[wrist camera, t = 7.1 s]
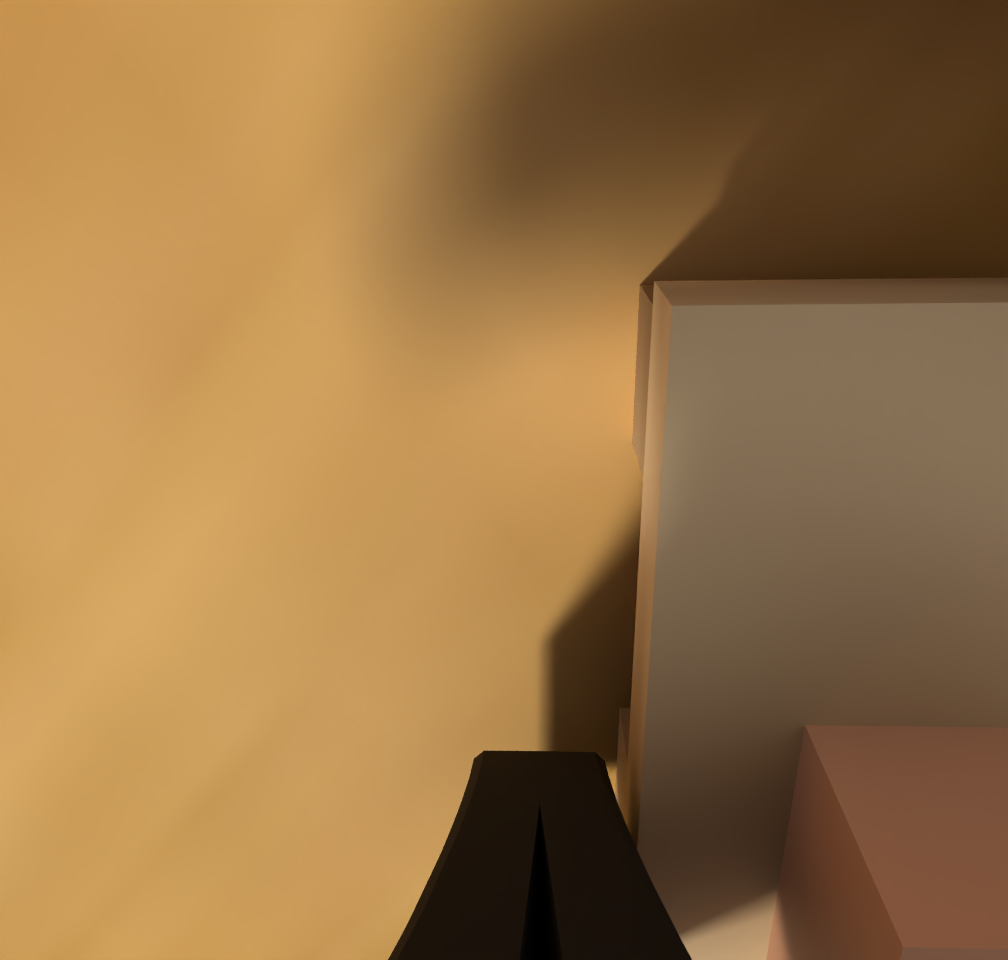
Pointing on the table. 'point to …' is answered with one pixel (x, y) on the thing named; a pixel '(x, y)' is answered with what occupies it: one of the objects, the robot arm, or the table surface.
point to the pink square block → (896, 846)
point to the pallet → (803, 558)
